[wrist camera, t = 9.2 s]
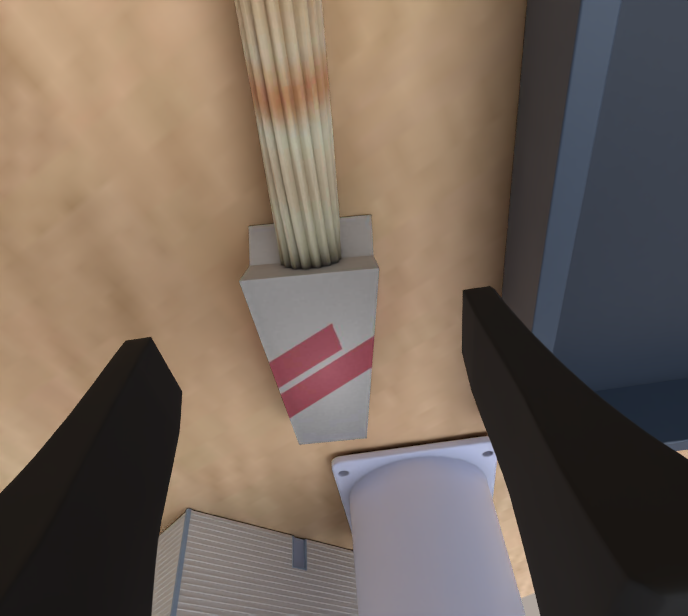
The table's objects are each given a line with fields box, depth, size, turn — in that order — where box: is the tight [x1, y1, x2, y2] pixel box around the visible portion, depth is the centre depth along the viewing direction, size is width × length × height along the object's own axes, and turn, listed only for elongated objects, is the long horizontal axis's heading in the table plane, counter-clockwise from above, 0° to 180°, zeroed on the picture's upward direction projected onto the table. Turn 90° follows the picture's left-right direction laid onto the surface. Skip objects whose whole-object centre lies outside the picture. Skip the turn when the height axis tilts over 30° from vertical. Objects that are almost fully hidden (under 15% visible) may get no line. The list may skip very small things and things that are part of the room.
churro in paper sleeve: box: [234, 0, 379, 445], centre depth 15 cm, size 4×3×20 cm
